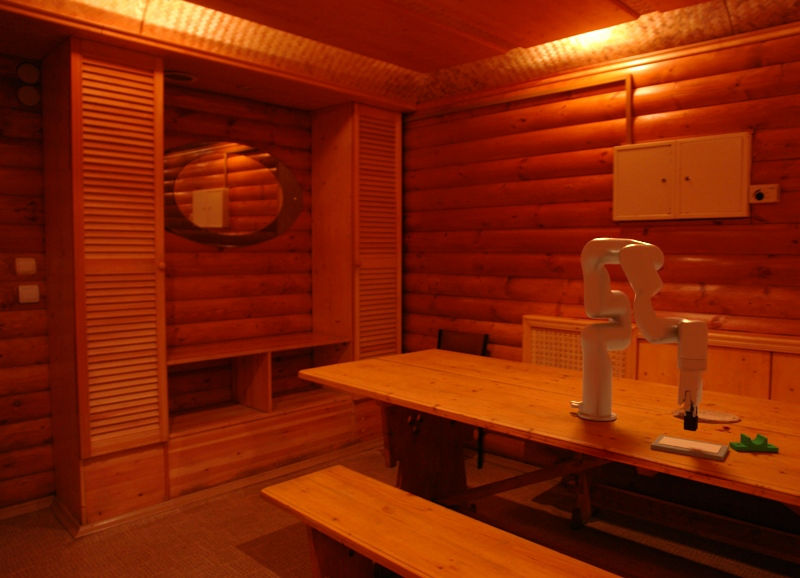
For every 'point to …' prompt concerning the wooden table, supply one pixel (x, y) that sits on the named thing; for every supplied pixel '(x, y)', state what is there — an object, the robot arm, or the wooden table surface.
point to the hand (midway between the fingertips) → (690, 429)
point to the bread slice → (709, 416)
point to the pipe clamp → (753, 444)
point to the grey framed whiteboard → (690, 447)
